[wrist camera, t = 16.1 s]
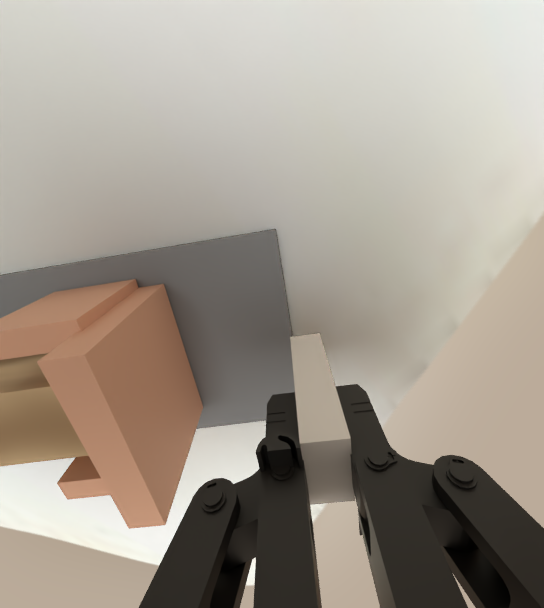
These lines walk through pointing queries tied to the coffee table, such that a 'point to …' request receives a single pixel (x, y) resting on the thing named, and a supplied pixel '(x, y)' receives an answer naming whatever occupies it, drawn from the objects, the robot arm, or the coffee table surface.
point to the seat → (201, 314)
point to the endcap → (115, 390)
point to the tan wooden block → (32, 416)
